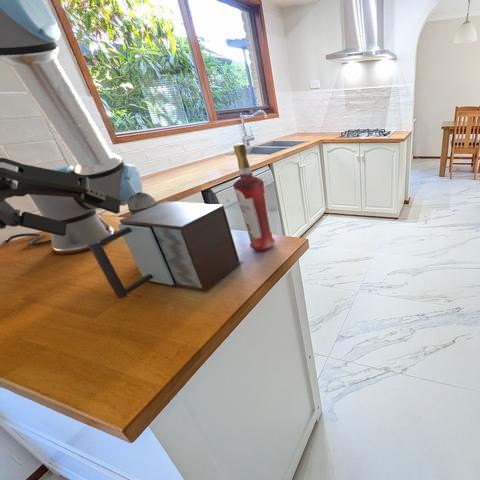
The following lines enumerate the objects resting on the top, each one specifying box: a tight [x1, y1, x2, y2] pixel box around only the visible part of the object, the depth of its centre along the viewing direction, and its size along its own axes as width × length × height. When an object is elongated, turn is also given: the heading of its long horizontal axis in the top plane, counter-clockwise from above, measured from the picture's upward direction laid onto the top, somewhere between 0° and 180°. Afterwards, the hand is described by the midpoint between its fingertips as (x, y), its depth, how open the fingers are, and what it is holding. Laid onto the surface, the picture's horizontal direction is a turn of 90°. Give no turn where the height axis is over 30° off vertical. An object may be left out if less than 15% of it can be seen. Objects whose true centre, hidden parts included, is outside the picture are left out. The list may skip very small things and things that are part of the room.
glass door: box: [88, 223, 174, 299], centre depth 61 cm, size 9×8×14 cm
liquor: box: [232, 142, 276, 252], centre depth 75 cm, size 7×7×28 cm
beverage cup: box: [125, 179, 158, 215], centre depth 85 cm, size 7×7×20 cm
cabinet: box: [119, 200, 241, 292], centre depth 69 cm, size 18×12×16 cm, turn 71°
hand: (91, 218), depth 57 cm, fingers open, 13 cm apart
